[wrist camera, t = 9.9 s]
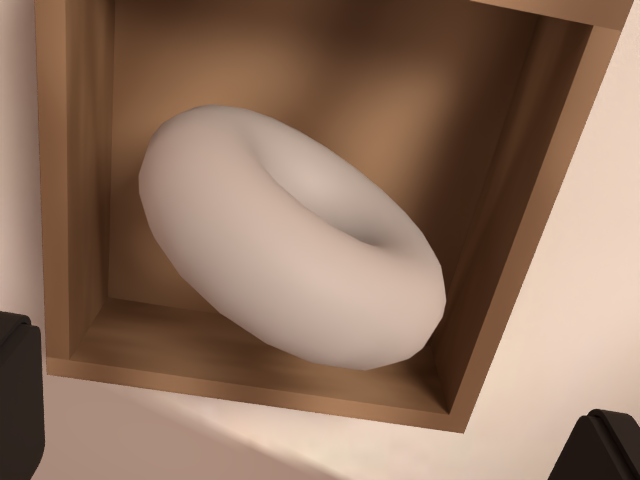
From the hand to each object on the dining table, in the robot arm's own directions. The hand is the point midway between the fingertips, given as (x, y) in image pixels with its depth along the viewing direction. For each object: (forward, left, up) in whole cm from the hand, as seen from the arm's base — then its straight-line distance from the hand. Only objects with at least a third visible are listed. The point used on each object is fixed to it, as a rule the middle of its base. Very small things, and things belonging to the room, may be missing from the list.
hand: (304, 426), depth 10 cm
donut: (0, 0, -13) cm, 13 cm away
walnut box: (+1, 0, -14) cm, 14 cm away
